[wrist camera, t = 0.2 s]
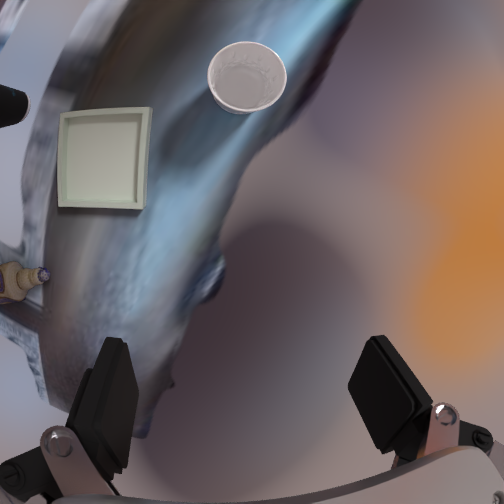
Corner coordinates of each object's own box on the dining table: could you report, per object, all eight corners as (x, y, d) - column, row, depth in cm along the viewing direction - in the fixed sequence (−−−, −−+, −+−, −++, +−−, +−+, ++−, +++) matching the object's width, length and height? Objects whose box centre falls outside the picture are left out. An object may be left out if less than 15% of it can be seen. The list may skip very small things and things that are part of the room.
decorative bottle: (-14, 299, 39) (-29, 315, 32) (-27, 268, 36) (-44, 282, 29) (65, 287, 40) (49, 308, 34) (50, 247, 37) (30, 264, 31)
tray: (67, 113, 30) (60, 112, 28) (152, 108, 32) (149, 107, 30) (64, 203, 35) (58, 206, 33) (146, 205, 37) (142, 209, 35)
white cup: (279, 83, 33) (300, 66, 24) (249, 129, 35) (261, 126, 26) (229, 55, 31) (234, 29, 21) (198, 101, 33) (192, 88, 24)
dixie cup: (4, 136, 28) (-39, 143, 18) (6, 91, 25) (-36, 89, 15) (36, 126, 29) (-8, 129, 19) (39, 78, 26) (-3, 70, 16)
